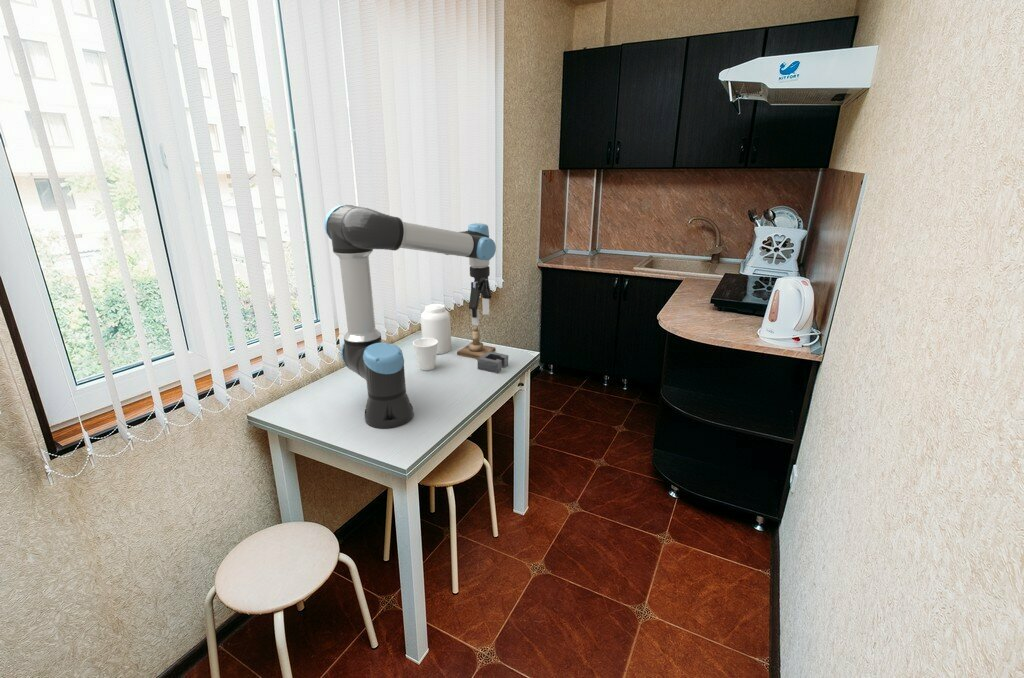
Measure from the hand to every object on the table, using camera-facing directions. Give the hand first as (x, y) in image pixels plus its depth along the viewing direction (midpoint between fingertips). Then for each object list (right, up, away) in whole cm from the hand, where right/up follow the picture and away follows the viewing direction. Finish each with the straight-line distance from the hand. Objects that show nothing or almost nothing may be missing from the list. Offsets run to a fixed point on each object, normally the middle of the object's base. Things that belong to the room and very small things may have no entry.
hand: (480, 319), depth 186 cm
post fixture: (-3, -14, +19) cm, 23 cm away
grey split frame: (+5, -19, +4) cm, 20 cm away
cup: (-22, -19, +3) cm, 29 cm away
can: (-21, -13, +22) cm, 32 cm away
